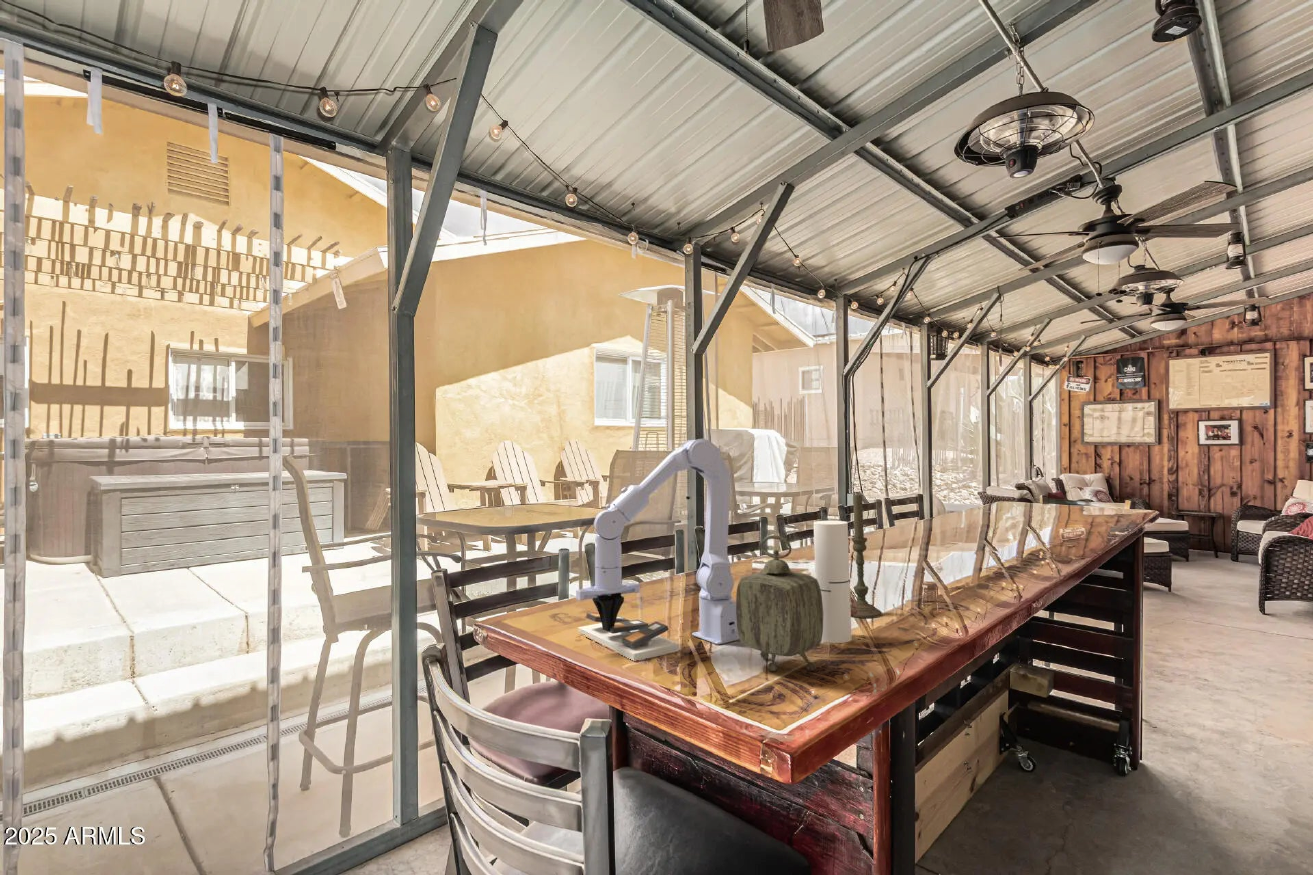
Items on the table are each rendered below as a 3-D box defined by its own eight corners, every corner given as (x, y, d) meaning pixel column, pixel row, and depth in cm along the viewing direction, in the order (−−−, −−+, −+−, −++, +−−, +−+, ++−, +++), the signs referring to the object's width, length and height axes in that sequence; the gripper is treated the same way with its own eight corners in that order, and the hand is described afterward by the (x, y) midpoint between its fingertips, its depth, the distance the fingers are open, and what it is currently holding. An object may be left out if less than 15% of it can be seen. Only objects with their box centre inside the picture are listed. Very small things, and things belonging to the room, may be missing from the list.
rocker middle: (648, 628, 144) (648, 622, 144) (612, 633, 139) (612, 628, 139) (637, 624, 148) (638, 618, 148) (602, 629, 143) (602, 623, 143)
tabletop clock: (825, 671, 121) (820, 535, 122) (797, 684, 115) (792, 541, 115) (762, 654, 132) (758, 530, 132) (733, 666, 125) (729, 535, 126)
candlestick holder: (835, 611, 164) (831, 491, 165) (866, 607, 167) (862, 490, 168) (856, 619, 156) (852, 493, 156) (889, 615, 158) (884, 491, 159)
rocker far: (629, 624, 150) (630, 619, 151) (595, 621, 146) (596, 616, 146) (619, 620, 154) (620, 616, 154) (586, 617, 149) (587, 612, 150)
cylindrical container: (853, 643, 137) (848, 524, 138) (818, 642, 139) (814, 524, 139) (850, 633, 144) (846, 520, 145) (816, 633, 146) (812, 520, 146)
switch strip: (679, 650, 136) (679, 638, 136) (633, 661, 130) (633, 648, 130) (619, 625, 157) (619, 615, 157) (578, 633, 151) (577, 623, 151)
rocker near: (668, 630, 137) (667, 625, 137) (633, 648, 132) (631, 643, 132) (657, 625, 141) (655, 620, 141) (622, 643, 136) (621, 638, 136)
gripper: (627, 560, 149) (627, 621, 148) (569, 567, 141) (569, 630, 140) (644, 565, 143) (644, 627, 142) (584, 571, 135) (584, 638, 135)
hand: (608, 629), depth 141 cm, fingers closed, pressing on rocker middle
